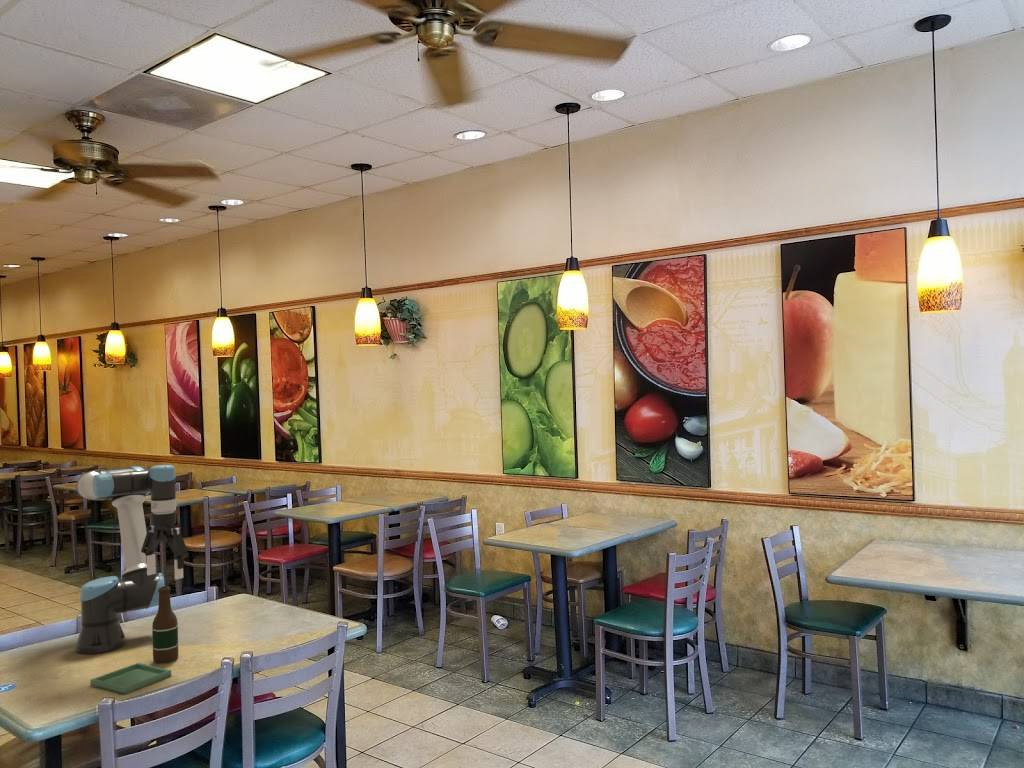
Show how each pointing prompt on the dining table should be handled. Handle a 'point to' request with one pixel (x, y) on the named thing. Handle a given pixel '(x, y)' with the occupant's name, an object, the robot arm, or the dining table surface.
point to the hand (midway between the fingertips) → (165, 576)
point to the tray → (130, 678)
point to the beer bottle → (165, 630)
